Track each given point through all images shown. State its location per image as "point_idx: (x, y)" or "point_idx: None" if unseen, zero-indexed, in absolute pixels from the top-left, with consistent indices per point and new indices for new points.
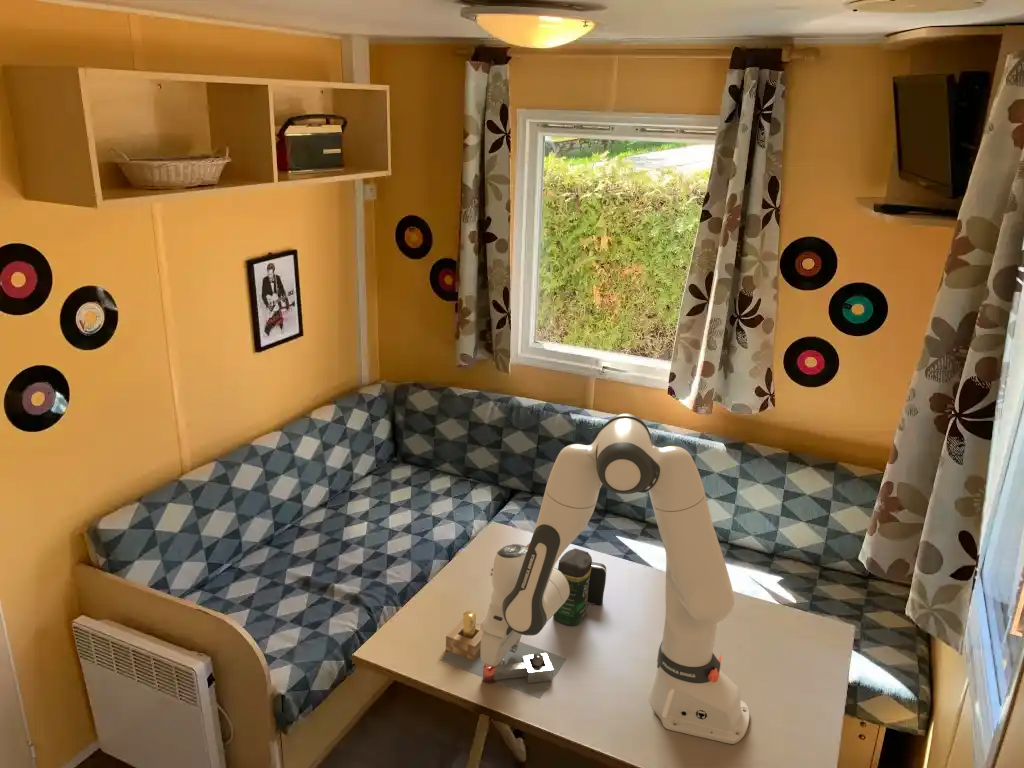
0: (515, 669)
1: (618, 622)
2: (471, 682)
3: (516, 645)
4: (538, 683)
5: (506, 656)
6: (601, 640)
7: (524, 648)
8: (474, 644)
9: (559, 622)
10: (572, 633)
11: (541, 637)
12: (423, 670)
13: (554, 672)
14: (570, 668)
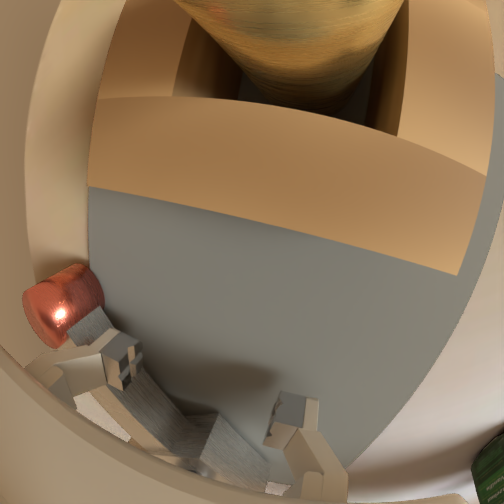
0: (115, 417)
1: (462, 492)
2: (66, 212)
3: (283, 448)
4: None
5: (279, 353)
6: (410, 498)
7: (366, 410)
8: (103, 166)
9: (496, 440)
10: (449, 466)
11: (449, 423)
12: (82, 6)
13: None
14: (287, 486)
